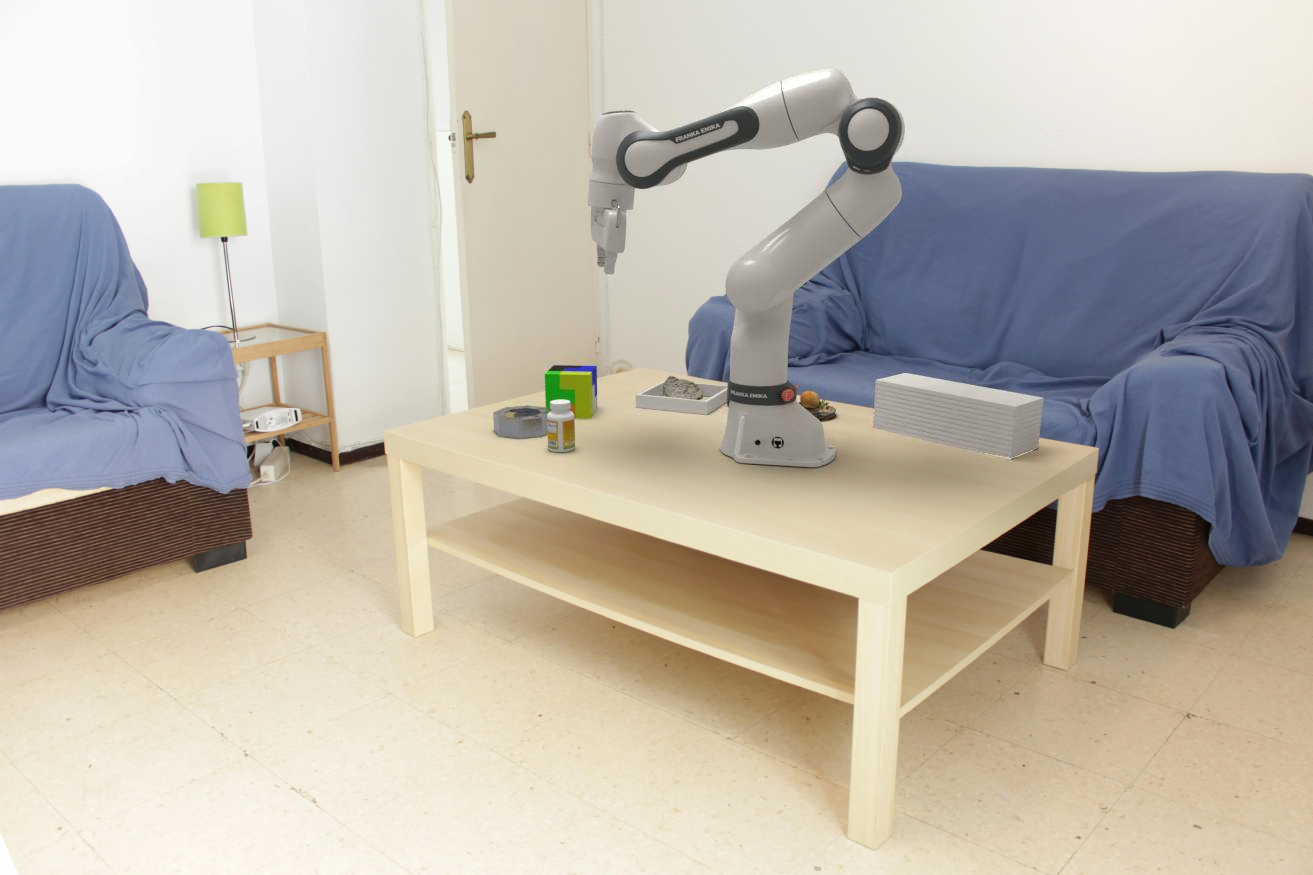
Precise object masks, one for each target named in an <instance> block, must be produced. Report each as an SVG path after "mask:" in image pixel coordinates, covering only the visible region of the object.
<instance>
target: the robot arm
mask: <svg viewBox="0 0 1313 875" xmlns="http://www.w3.org/2000/svg"><path fill="white" fill-rule="evenodd" d="M594 127H595V128H594V133H593V139H592V148H591V157H590V158H591V163H592V170H591V174H590V177H589V181H588V182H589V184H588V195H587V196H588V197H587V206H590V233H591V234H590V236H591V239H592V241H594V242H595V243H596V265H597V267H599V268H603V272H604V273H605V275H613V274H615V266H616V263H617V260H618V254H623V253H624V252H625V249H626V248H625V247H626V236H627V211H629V210H630V211H631V210H633V209H634V203H635V191H636V189H637V190H638V189H639V190H646V189H650V188H651V189H652V188H653V187H662V186H669V185H672V184H673V183H675V182H677V181H678V180H680V179H681V178H682V176H683V175H684V174H685V172H686V170H687V166H688V164H690V163H692V162H694V161H698V160H700V159H704V158H707V157H709V156H712V155H715V154H718V153H722V152H727V151H735V150H758V151H762V150H769V149H776V148H781V147H785V146H790V145H792V144H796V143H799V142H801V141H804V140H806V139H809V138H812V137H815V136H818V135H823V134H832V135H834V136H836V137H838V140H839V145H840V147H841V150H842V152H843V154H844V157H845V161H846V163H847V167H848V168H847V169H846V171H845V172H844V174H842V176H841V177H839V178H838V179H837V180H836V181H835V182H834V183H833V184H831V185H830V186H829V187H827V188H826V189H825V190H824V191H823V192H821V194H820V193H819V194H818V195H817V196H816V197H815V198H814V199H812V200H811V201H810V202H808V204H807V205H805V206H804V207H803V208H802V209H801V210H798V212H797V213H795V214H794V215H793V216H792V217H790V218H789V219H788V220H786V221H785V222H784V223H783V224H781V225H780V226H779V227H777V228H776V229H775V230H773V231H772V232H771V233H769V235H767V236H766V237H765V238H763V239H762V240H760V242H758V243H757V244H755V245H754V246H753V247H752V248H750V249H748V251H747V252H745V253H744V254H743V255H742V256H740V257H739V258H737V260H735V261H734V262H733V263H732V265H731V266H730V268H729V270H728V272H727V274H726V277H725V278H726V279H725V285H724V286H725V287H724V288H725V294H726V296H727V299H728V300H729V302H730V303H731V305H733V307H734V308H735V312H734V320H733V327H732V332H731V337H730V348H729V349H730V352H729V353H730V355H729V356H730V358H729V370H730V371H729V379H728V380H727V385H726V386H727V402H726V405H727V406H726V407H727V408H728V409H727V417H726V418H727V419H726V424H725V428H724V429H725V430H724V434H723V439H722V441H721V445H720V449H719V450H720V452H721V453H722V454H724V455H726V456H728V457H730V458H732V459H733V460H734V461H735V462H737V463H740V464H752V465H753V464H754V465H769V466H785V467H803V468H806V467H807V468H818V467H823V466H825V465H827V464H829V463H830V462H832V461H833V460H834V459H835V457H836V454H837V449H836V447H835V446H834V445H833V444H831V443H826V437H825V430H824V426H823V424H822V422H820V420H819V419H817V418H816V417H815V416H814V415H812V414H811V413H810V412H809V411H807V410H806V409H805V408H804V407H803V406H802V405H800V404H799V402H798V401H797V398H798V396H797V394H798V392H797V391H799V389H798V388H799V384H795V385H794V384H792V383H791V382H790V381H789V380H788V364H789V361H788V360H789V359H788V358H789V357H788V356H789V341H790V340H789V338H790V330H791V322H792V315H793V303H794V296H795V295H794V292H796V291H797V290H799V289H800V288H801V287H802V286H803V285H804V284H806V283H808V282H809V281H810V280H811V279H812V278H813V277H815V276H816V275H818V274H819V273H820V272H821V271H823V270H824V269H825V268H826V267H828V266H829V265H830V264H832V263H833V262H834V261H835V260H837V259H838V258H840V256H842V255H843V254H844V253H846V252H847V251H848V250H849V249H850V248H852V247H854V246H855V245H856V244H857V243H858V242H860V241H862V239H863V238H865V237H866V236H867V235H868V234H870V233H871V232H872V231H873V230H874V229H876V228H877V227H878V226H879V225H880V224H881V223H882V222H883V221H884V220H885V219H886V218H887V217H888V216H889V215H890V214H891V213H892V212H893V210H894V209H895V208H896V207H898V205H899V204H900V202H901V201H902V200H901V199H902V196H903V191H902V184H901V182H900V180H899V177H898V176H897V174H896V173H895V170H893V166H892V160H893V158H894V157H895V155H896V154H897V152H898V151H899V150H900V148H901V146H902V145H903V143H904V142H903V141H904V138H905V134H906V133H905V132H906V131H905V130H906V125H905V121H904V117H903V116H902V113H901V111H900V110H899V109H898V108H897V106H895V105H894V104H893V103H891V102H889V101H888V100H886V99H884V98H879V97H866V98H858V96H856V94H855V93H854V90H853V87H852V85H851V82H850V81H849V79H848V77H847V76H846V75H845V74H844V73H843V72H842V71H841V70H839V69H837V68H833V67H830V68H829V67H828V68H827V67H826V68H822V69H816V70H810V71H806V72H803V73H799V74H796V75H793V76H790V77H787V78H784V79H782V80H778V81H777V82H774V83H772V84H770V85H767V86H764V87H762V88H761V89H759V90H758V91H756V92H754V93H752V94H750V95H748V96H746V97H745V98H743V99H741V100H739V101H738V102H736V103H735V104H733V105H731V106H729V107H728V108H726V109H724V110H722V111H720V112H717V113H715V114H713V115H711V116H710V115H709V116H708V117H705V118H701V119H699V120H696V121H693V122H691V123H688V124H685V125H682V126H679V127H676V128H674V129H669V130H666V131H662V130H660V129H658V128H656V127H655V126H653V125H651V124H650V123H649V122H647V121H646V120H644V119H643V117H641V115H639V113H638V112H636V111H635V110H627V109H626V110H613V111H612V110H611V111H607V112H604V113H602V114H601V115H600V116H599V117H598V118H597V121H596V124H595V126H594Z"/></svg>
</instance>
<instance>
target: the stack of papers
mask: <svg viewBox="0 0 1313 875" xmlns="http://www.w3.org/2000/svg"><path fill="white" fill-rule="evenodd" d="M874 387H875V389H874V403H873V406H874V407H873V421H872V423H873V424H872V428H873V429H876V430H881V431H885V432H889V433H893V434H899V435H902V436H906V437H911V438H915V439H919V440H924V441H928V442H933V443H937V444H940V445H945V446H949V447H953V448H959V449H963V450H967V451H970V450H972V451H971V452H975V451H976V453H979V452H982V453H981V454H983V453H988V454H992V455H998V456H1003V457H1009V458H1012V457H1015V456H1018V455H1020V454H1023V453H1026V452H1029V451H1031V450H1034V449H1037V448H1038V449H1039V448H1040V447H1039V444H1040V434H1041V432H1040V431H1041V426H1042V417H1043V415H1042V414H1043V413H1042V412H1043V407H1044V400H1045V399H1044V397H1040V396H1036V395H1029V394H1024V393H1019V392H1013V391H1008V390H1003V389H998V388H997V389H996V388H991V387H985V386H980V385H975V384H968V383H965V382H964V383H963V382H959V381H958V382H957V381H952V380H947V379H940V378H935V377H930V376H924V375H921V374H920V375H919V374H913V373H908V372H903V373H900V374H895V375H890V376H888V377H886V376H885V377H883V378H877V379H875V386H874ZM992 455H991V456H992Z"/></svg>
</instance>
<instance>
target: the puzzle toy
mask: <svg viewBox="0 0 1313 875" xmlns="http://www.w3.org/2000/svg"><path fill="white" fill-rule="evenodd" d="M597 368H598V366H597V365H573V364H572V365H571V364H570V365H569V364H568V365H564V364H561V365H560V364H557V365H556V364H554V365H552V366H551V367H550V368H549V369H548V370H547V371H546V372H545V373H544V391H545V392H544V393H545V394H544V396H545V407H547V408H548V409H549V410H551V409H550V402H551V401H553V400H569V401H570V404H571V407H570V409H569V411H571V412H573V414H574V420H575V419H576V420H577V419H579V420H580V419H583V420H587V419H588V420H591V419H592V418H593V416H594V414H595V413H596V412H597V410H598V369H597ZM551 411H552V410H551Z"/></svg>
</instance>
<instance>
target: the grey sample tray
mask: <svg viewBox="0 0 1313 875" xmlns="http://www.w3.org/2000/svg"><path fill="white" fill-rule="evenodd" d="M666 380H667V379H665V380H662V381H660V382H658V383H656V384H654V385H653V386H651V387H648V388H647V389H644V390H642V391H641V392H639V393H637V394H635V408H638V409H646V410H647V409H648V410H657V411H668V412H676V413H687V414H695V415H705V416H707V415H709V414H711V413H712V412H713V411H715V410H717V409H719V408H720V407H721V406H724V405H725V404H727V386H728V385H725V384H715V383H714V384H712V383H703V382H695V383H696V384H698V388H699V389H701V390H702V391H703V397H706V398H707V397H708V399H705V400H703V399H701V400H692V399H682V398H672V397H666V396H665V395H664V394H663V388H662V387H661V386H662V385H664V382H665V381H666Z"/></svg>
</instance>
